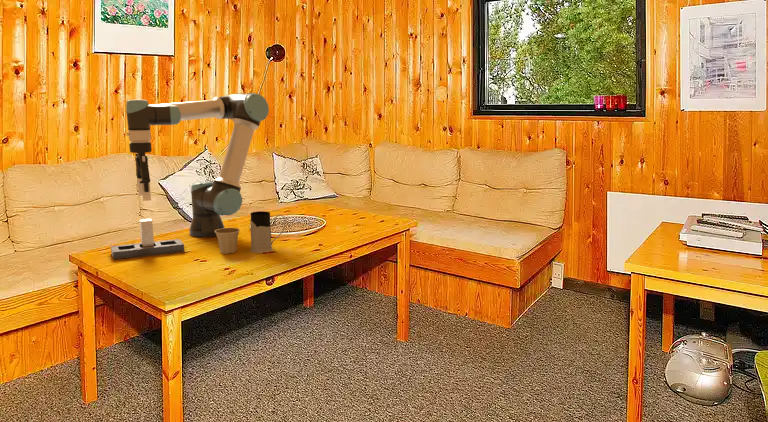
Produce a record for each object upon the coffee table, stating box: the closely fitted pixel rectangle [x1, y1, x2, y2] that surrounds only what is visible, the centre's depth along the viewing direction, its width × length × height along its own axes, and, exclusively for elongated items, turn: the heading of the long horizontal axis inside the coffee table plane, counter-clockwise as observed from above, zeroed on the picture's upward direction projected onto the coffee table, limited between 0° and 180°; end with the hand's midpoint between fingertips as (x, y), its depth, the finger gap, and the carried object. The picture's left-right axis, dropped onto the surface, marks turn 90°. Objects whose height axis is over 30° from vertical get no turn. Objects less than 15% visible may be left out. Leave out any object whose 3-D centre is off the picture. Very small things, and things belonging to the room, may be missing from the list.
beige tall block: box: [139, 218, 155, 248], centre depth 211 cm, size 4×4×13 cm
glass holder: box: [250, 210, 287, 254], centre depth 218 cm, size 9×14×15 cm, turn 111°
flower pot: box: [215, 227, 241, 255], centre depth 214 cm, size 9×9×9 cm
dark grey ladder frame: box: [110, 238, 185, 260], centre depth 212 cm, size 25×10×3 cm, turn 120°
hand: (144, 197), depth 208 cm, fingers open, 13 cm apart
